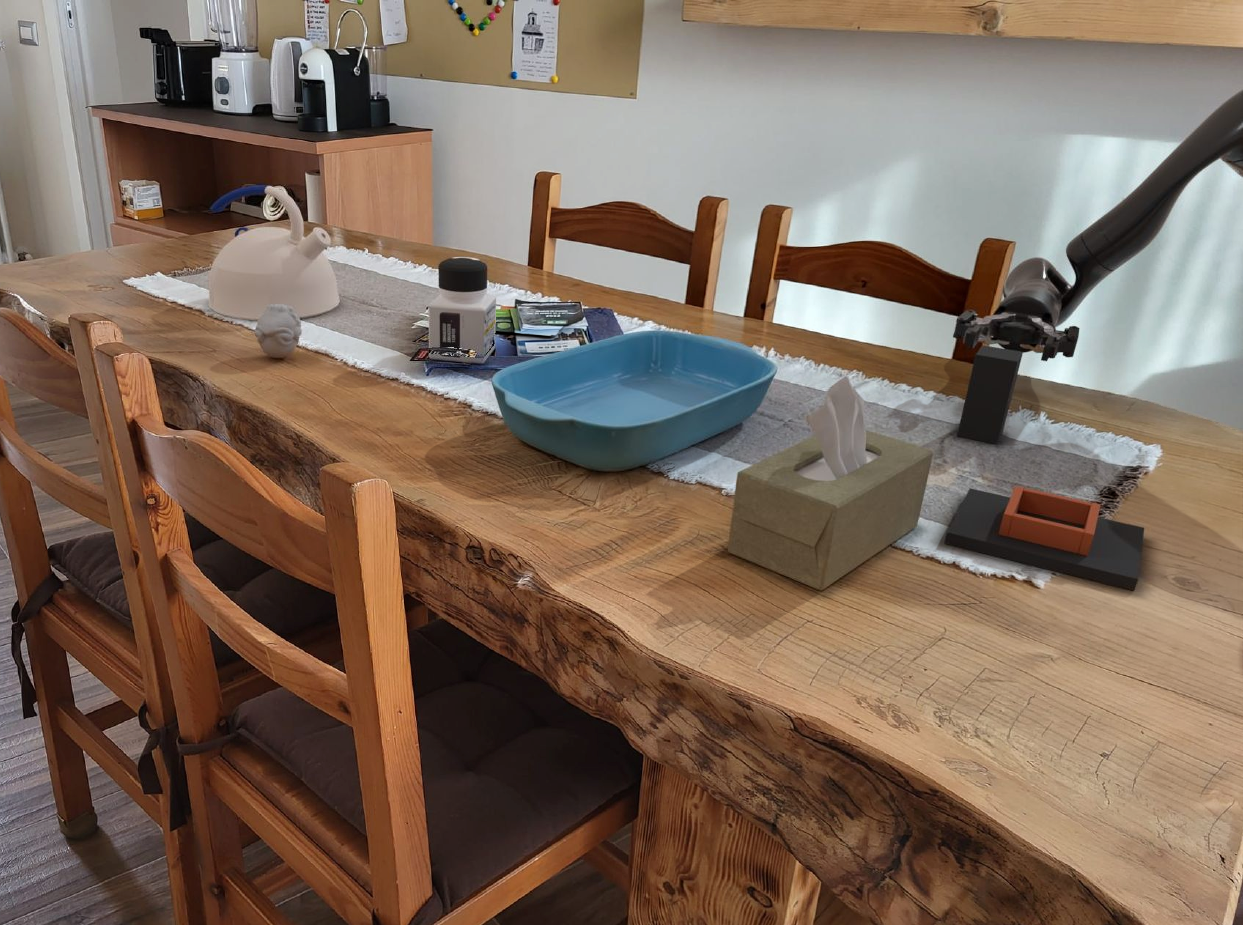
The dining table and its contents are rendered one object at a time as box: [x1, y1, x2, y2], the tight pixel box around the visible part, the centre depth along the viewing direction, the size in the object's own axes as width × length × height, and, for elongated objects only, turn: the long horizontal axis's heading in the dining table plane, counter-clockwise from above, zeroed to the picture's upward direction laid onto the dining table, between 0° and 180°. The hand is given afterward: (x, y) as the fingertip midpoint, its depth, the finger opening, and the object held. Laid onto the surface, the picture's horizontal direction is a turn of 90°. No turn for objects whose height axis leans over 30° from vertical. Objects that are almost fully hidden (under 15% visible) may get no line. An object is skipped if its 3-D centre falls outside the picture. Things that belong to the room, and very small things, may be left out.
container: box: [427, 256, 497, 365], centre depth 141 cm, size 8×8×13 cm
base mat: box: [944, 485, 1145, 592], centre depth 98 cm, size 16×12×3 cm
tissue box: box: [727, 374, 934, 591], centre depth 94 cm, size 19×10×16 cm, turn 136°
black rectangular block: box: [956, 344, 1024, 445], centre depth 121 cm, size 4×4×10 cm
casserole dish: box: [490, 329, 778, 473], centre depth 120 cm, size 37×22×7 cm, turn 135°
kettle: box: [208, 184, 341, 322], centre depth 160 cm, size 20×21×18 cm
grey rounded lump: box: [254, 304, 303, 359], centre depth 139 cm, size 6×7×7 cm
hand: (1007, 346), depth 126 cm, fingers open, 8 cm apart
